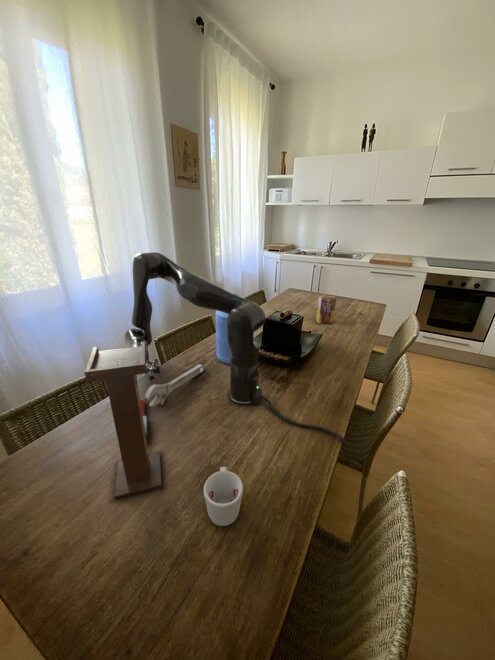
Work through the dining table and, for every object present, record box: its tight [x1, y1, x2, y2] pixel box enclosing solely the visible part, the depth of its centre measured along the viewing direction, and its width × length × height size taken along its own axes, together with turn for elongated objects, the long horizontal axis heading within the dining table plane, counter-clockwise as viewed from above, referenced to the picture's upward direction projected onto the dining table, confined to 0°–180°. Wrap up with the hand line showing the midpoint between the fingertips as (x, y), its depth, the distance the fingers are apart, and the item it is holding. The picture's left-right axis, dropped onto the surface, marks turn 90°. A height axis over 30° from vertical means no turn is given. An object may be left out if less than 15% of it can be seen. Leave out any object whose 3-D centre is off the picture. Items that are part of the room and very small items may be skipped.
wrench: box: [144, 363, 205, 408], centre depth 99 cm, size 8×2×30 cm
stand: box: [83, 342, 163, 500], centre depth 61 cm, size 10×10×33 cm
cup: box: [203, 466, 244, 527], centre depth 60 cm, size 11×8×8 cm
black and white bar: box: [140, 399, 149, 444], centre depth 83 cm, size 18×4×3 cm, turn 18°
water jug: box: [215, 293, 240, 365], centre depth 117 cm, size 16×16×28 cm
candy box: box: [315, 295, 337, 324], centre depth 161 cm, size 9×4×15 cm, turn 99°
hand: (136, 381), depth 86 cm, fingers open, 8 cm apart
